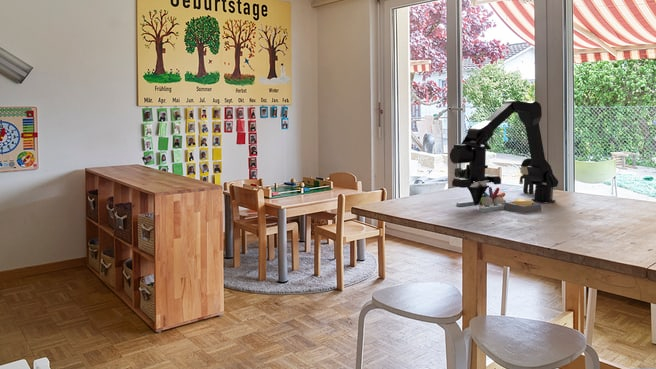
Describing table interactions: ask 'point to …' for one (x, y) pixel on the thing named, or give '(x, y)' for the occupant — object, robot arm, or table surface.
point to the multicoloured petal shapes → (492, 198)
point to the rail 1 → (466, 203)
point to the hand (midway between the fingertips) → (476, 204)
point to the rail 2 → (491, 208)
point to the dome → (522, 202)
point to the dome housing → (523, 207)
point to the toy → (526, 176)
